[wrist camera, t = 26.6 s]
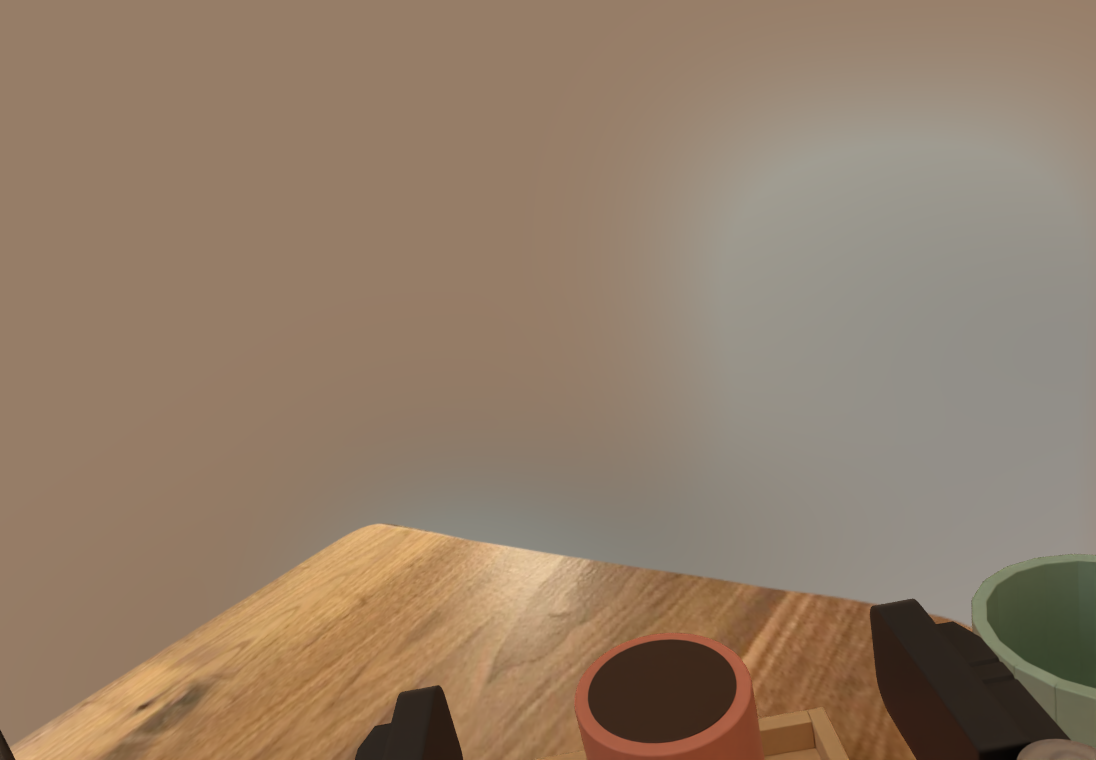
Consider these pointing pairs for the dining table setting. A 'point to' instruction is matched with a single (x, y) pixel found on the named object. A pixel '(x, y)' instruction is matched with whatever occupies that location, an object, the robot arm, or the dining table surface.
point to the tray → (784, 738)
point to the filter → (668, 702)
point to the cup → (1046, 634)
